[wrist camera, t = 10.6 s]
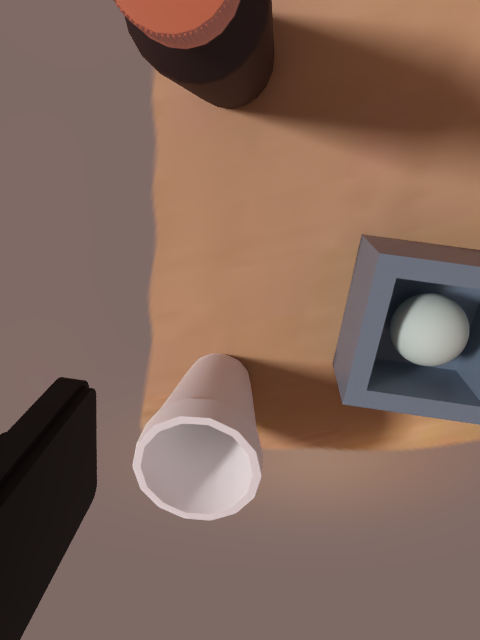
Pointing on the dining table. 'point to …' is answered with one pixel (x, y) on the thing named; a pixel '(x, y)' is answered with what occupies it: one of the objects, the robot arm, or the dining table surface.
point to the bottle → (206, 45)
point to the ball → (429, 329)
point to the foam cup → (203, 443)
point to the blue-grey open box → (375, 341)
